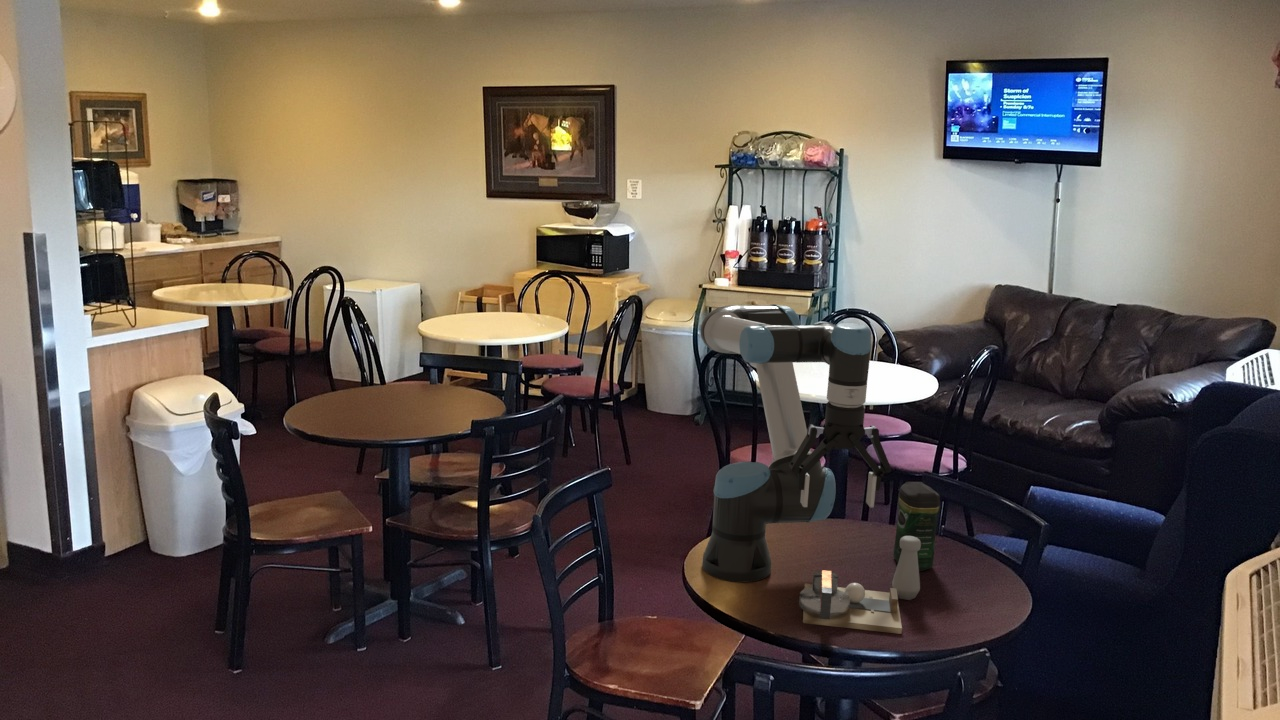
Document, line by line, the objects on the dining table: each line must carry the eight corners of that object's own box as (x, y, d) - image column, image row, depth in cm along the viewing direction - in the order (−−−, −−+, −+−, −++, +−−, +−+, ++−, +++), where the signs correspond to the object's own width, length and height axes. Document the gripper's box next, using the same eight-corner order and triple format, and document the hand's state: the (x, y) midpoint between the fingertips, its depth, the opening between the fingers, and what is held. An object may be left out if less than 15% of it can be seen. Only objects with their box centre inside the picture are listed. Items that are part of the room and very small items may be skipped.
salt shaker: (898, 587, 224) (904, 530, 221) (923, 595, 221) (929, 537, 218) (886, 595, 220) (891, 538, 217) (911, 604, 216) (917, 545, 213)
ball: (844, 604, 211) (846, 586, 211) (844, 596, 215) (845, 578, 214) (864, 607, 211) (866, 588, 210) (863, 598, 215) (865, 580, 214)
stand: (802, 622, 206) (804, 603, 205) (804, 588, 222) (805, 570, 221) (901, 633, 203) (903, 614, 202) (896, 598, 219) (897, 580, 218)
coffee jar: (937, 571, 233) (946, 493, 229) (903, 572, 232) (911, 493, 228) (921, 554, 242) (929, 478, 238) (888, 555, 241) (895, 478, 237)
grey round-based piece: (797, 625, 202) (800, 590, 200) (799, 590, 217) (802, 557, 216) (850, 631, 200) (853, 595, 198) (848, 595, 216) (851, 562, 214)
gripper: (787, 407, 200) (780, 511, 205) (914, 408, 202) (903, 511, 207) (779, 396, 207) (771, 497, 212) (901, 398, 210) (891, 498, 215)
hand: (836, 505), depth 210 cm, fingers open, 13 cm apart
